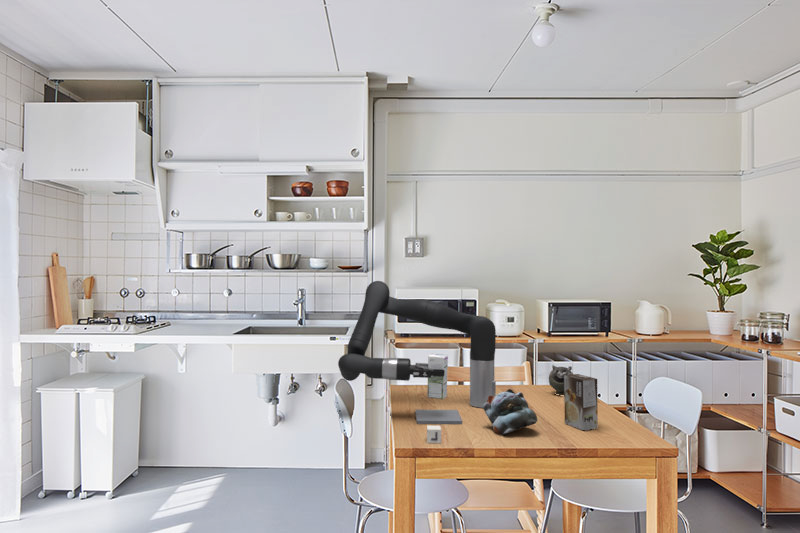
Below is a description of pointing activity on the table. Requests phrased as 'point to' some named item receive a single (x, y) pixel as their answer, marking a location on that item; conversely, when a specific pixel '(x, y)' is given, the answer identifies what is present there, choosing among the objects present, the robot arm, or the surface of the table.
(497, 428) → the lucky cat figurine
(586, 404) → the coffee box
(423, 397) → the table surface
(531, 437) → the table surface
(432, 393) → the syrup box
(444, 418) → the grey board
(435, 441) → the white letter cube
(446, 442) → the table surface
